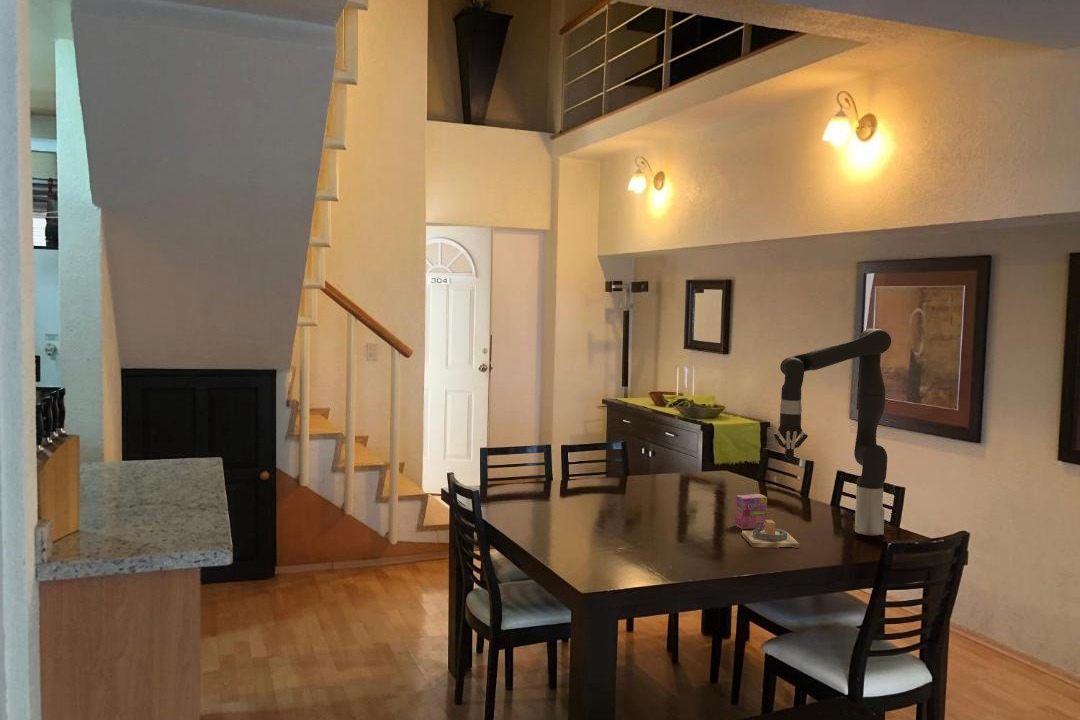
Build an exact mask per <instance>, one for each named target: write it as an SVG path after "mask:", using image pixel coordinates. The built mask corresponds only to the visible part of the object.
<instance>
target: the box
mask: <svg viewBox="0 0 1080 720" xmlns="http://www.w3.org/2000/svg"><path fill="white" fill-rule="evenodd" d="M734 500H735V508H734V526H735V527H736V528H738V527H739V528H738V529H740V530H747V529H748V530H749V529H756V528H759V527H765V520H767V513H768V512H767V507H768V496H766V495H763V494H761V493H754V494H753V493H752V494H738V495H737V494H736V495H735V499H734Z"/></svg>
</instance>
